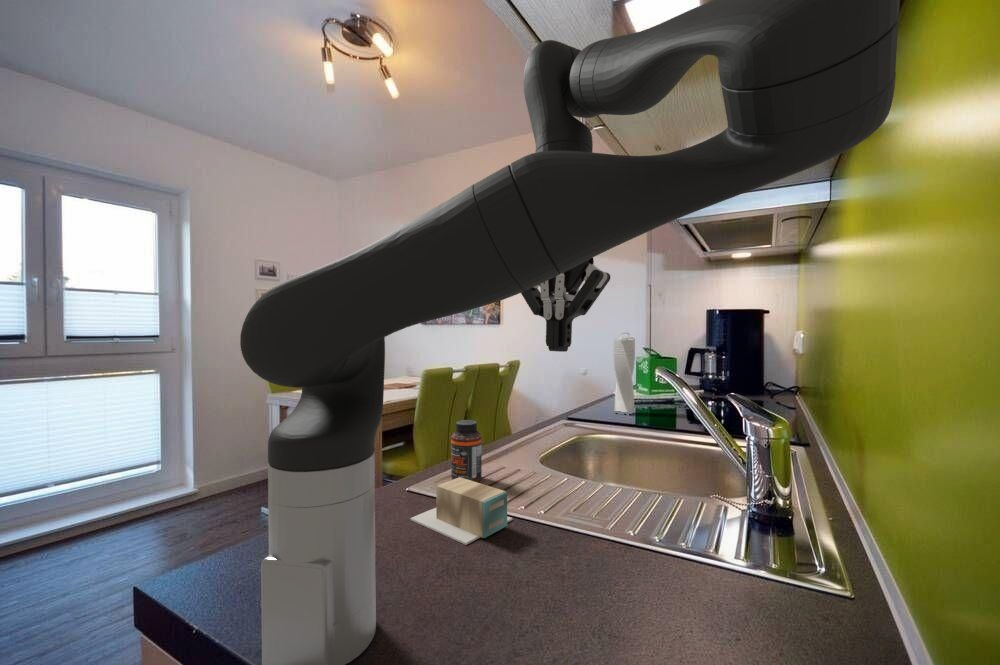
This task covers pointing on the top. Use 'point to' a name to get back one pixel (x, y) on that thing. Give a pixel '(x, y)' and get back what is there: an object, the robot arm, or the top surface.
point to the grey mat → (445, 527)
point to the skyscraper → (624, 373)
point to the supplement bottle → (466, 451)
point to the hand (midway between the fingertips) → (558, 351)
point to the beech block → (471, 506)
